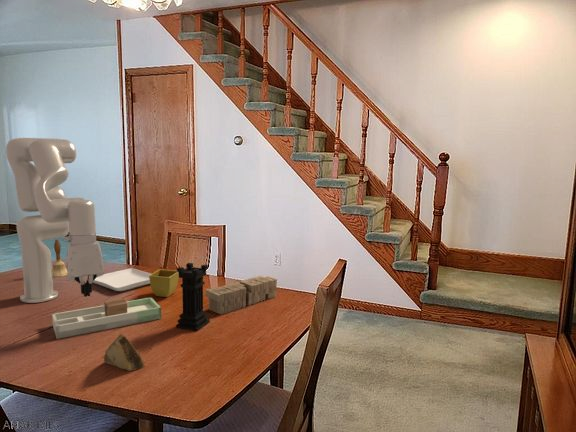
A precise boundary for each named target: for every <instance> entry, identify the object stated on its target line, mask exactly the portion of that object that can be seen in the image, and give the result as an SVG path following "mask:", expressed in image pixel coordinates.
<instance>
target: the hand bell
mask: <svg viewBox="0 0 576 432" xmlns="http://www.w3.org/2000/svg"><path fill="white" fill-rule="evenodd" d="M53 246H54V247H53V248H54V252H55V259H56V261H55V262H53V265H52V266H53V267H52V278H62V277H67V274H68V272H67V266H66V265H65V262H64V261H62V259H61V250H62V249H61V248H62V246H61V243H60V240H59V239H55V240H54V244H53Z"/></svg>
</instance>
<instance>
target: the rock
mask: <svg viewBox="0 0 576 432" xmlns="http://www.w3.org/2000/svg"><path fill="white" fill-rule="evenodd" d="M103 362H104V363H105V364H108V365H111V366H113V367H117V368H119V369H123V370H126V371H135V370H136V371H137V370H139V369H142V368H145V367H146V364H145V362H144V360H143V358H142V356H141V355H140V354H139V352H138V351H137V349H136V348H135V347H134V345H133V344H132V343H131V341H130V340H128V339H127V337H126V336H125V335H123V334H122V333H121V334H119V335H118V336H117V337H116V338H115V340H114V341H113V342H112V343H111V344H110V345H109V346H108V348H107V349H106V350H105V353H104V356H103Z"/></svg>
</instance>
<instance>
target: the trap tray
mask: <svg viewBox="0 0 576 432" xmlns="http://www.w3.org/2000/svg"><path fill="white" fill-rule="evenodd" d="M125 301H126V300H125ZM126 303H127V313H123V314H117V315H112V316H106V315H105V307H104V304H103V305H98V306H97V305H95V306H92V307H84V308H80V309H79V308H78V309H73V310H68V311H67V310H66V311H62V312H55V313H51V317H52V318H51V319H52V323H51V324H52V327H53V331H54V333H55V334H54V335H55V338H56V340H58V339H63V338H68V337H74V336H80V335H85V334H90V333H93V332H94V333H95V332H100V331H104V330H110V329H115V328H119V327H125V326H131V325H135V324H140V323H145V322H151V321H155V320H161V319H162V307H161V305H159V304H158V303H157V301H155V299H154V298H153V297H150V296H149V297H144V298H140V299H134V300H128V301H126Z"/></svg>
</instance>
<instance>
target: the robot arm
mask: <svg viewBox="0 0 576 432" xmlns="http://www.w3.org/2000/svg"><path fill="white" fill-rule="evenodd" d="M5 153H6V159H7V161H8V165H9V166H10V168H11V170H12V173H13V176H14V181H15V189H16V196H17V198H16V199H17V203H18V207H19V208H20V210H21V211H22V212H25V213H37V212H38V213H39V214H37V215H29V216H25V217H22V218H20V219H19V220H18V221H17V222H16V232H17V236H18V240H19V245H20V250H21V261H22V262H21V263H22V265H21V266H22V274H23V275H22V276H23V289H24V290H23V291H24V293H22V294H21V295H20V296H19V300H20V301H21V302H22V303H29V304H33V303H34V304H35V303H42V302H43V303H44V302H47V301H52V300H54V299H55V298H57V297H58V296H59V291H58V290H56V289H54V281H53V277H52V270H53V267H52V266H53V265H52V253H51V250H50V248H49V247H48V246H47V245H46V244H45V243H44V241H47V240H54V239H55V240H56V239H59V238H60V239H61V238H64V242H68V243H69V244H68V245H67V250H66V269H67V272H68V274H67V276H66V279H67V280H68V281H76V282H77V283H78V284H80V293H81V295H83V296H84V297H85V298H86V297H91V293H92V292H93V289H92V288H93V287H92V286H93V285H92V284H94V283H93V281H94V280H95V279H96V277H99V276H102V275H103V274H105V273H104V262H103V254H102V248H101V245H100V242H99V241H97V234H96V233H97V229H96V213H95V203H94V202H93V201H92V200H89V199H85V198H83V197H67V196H66V193H65V191H64V189H63V188H62V187H61V186H60V185H61V184H64V182H66V181H67V180H68V177H69V171H68V169H67V167H66V164H72V163H74V162H75V160H76V158H77V150H76V147H75V146H74V143H72V142H71V141H70V140H68V139H61V138H46V137H45V138H44V137H43V138H39V137H38V138H37V137H17V138H13V139H11V140H9V141H8V142H7V144H6V146H5ZM32 162H33V163H32ZM67 235H68V236H67ZM84 277H86V279H87V280H86V281H85V279H84Z"/></svg>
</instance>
